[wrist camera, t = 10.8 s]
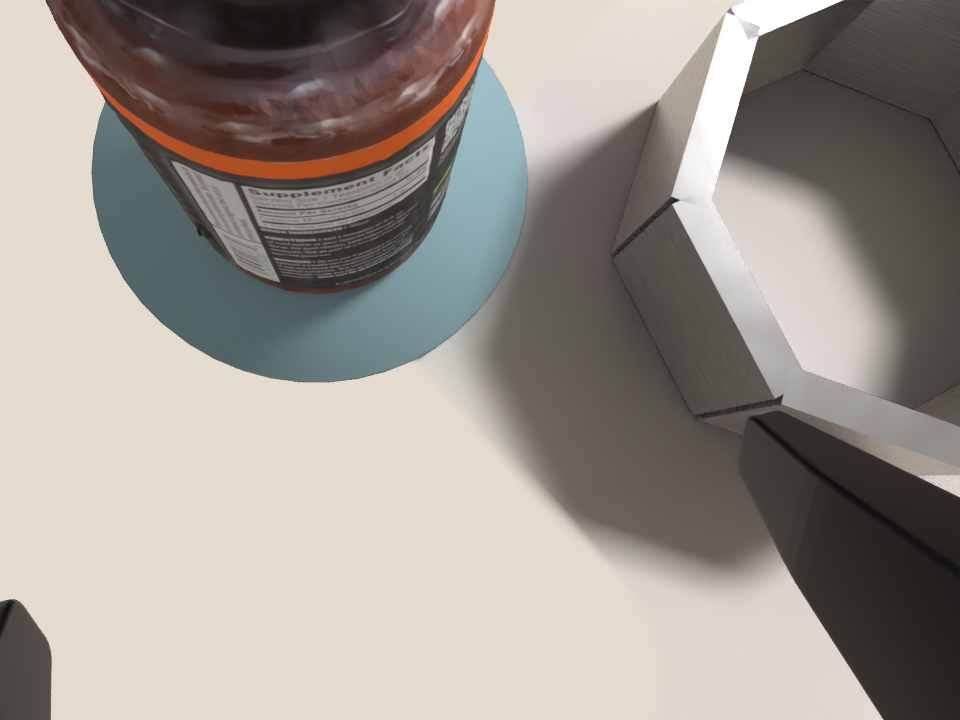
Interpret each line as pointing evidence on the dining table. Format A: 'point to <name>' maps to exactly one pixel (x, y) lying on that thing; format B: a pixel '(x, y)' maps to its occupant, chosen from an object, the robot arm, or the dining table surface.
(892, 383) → the dining table surface
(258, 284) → the teal mat
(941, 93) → the grey octagonal bowl
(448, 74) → the supplement bottle
